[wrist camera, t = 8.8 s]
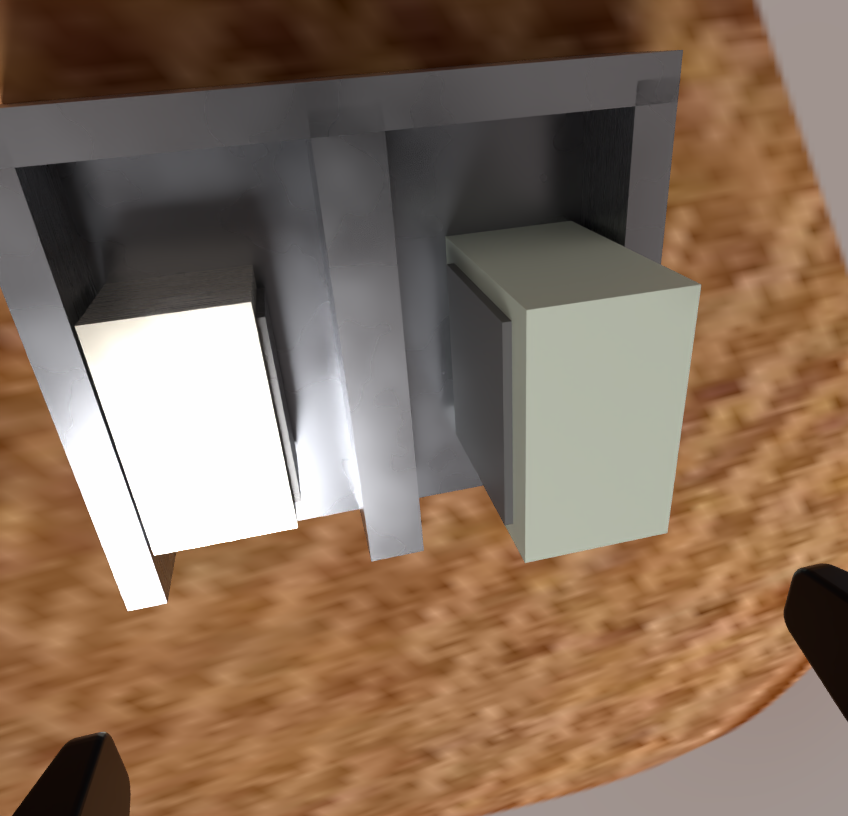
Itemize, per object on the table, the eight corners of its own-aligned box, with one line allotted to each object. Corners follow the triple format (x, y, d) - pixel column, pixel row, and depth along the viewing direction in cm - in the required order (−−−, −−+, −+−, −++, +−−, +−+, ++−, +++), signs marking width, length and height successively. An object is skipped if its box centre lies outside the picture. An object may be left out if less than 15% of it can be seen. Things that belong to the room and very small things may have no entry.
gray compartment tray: (585, 448, 23) (644, 517, 19) (147, 529, 20) (124, 625, 17) (606, 53, 17) (696, 49, 13) (0, 104, 15) (-81, 115, 11)
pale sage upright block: (563, 415, 20) (667, 532, 15) (449, 434, 20) (516, 564, 15) (571, 220, 18) (701, 284, 12) (438, 237, 17) (516, 311, 12)
